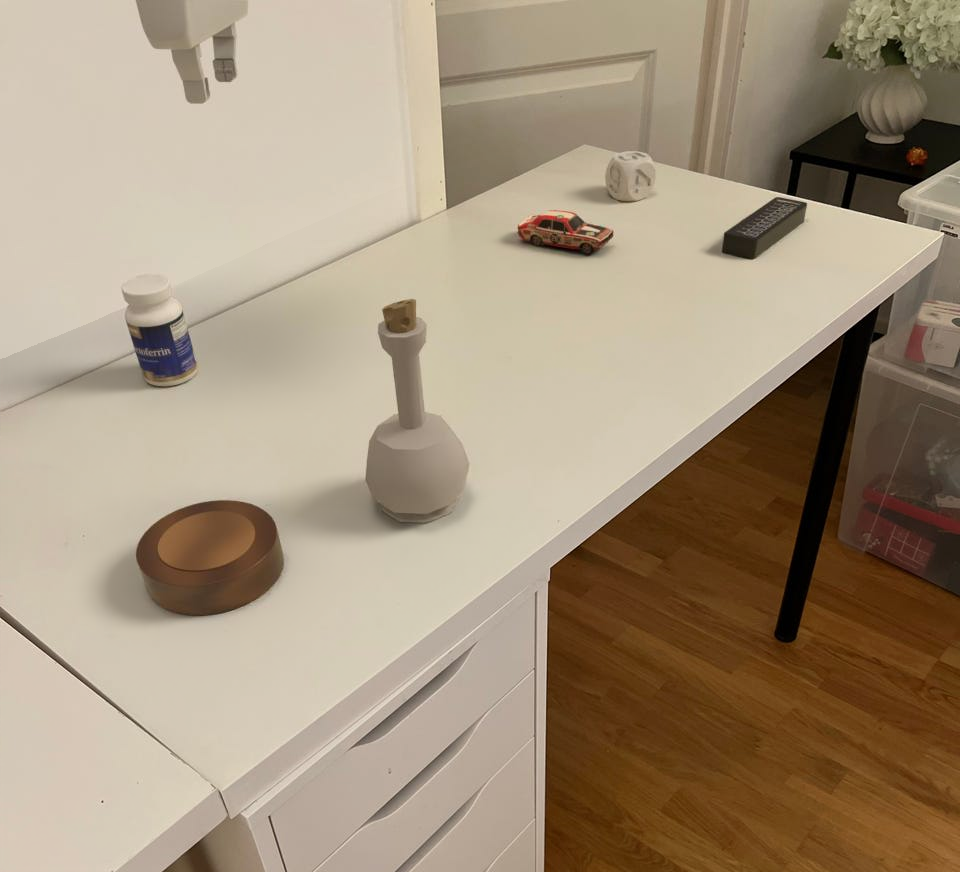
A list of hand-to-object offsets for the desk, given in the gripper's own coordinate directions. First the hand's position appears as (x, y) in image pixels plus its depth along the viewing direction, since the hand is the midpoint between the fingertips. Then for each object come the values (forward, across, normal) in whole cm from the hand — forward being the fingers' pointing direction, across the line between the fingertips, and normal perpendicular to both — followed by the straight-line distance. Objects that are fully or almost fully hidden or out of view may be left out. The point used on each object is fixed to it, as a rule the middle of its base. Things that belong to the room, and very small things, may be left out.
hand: (213, 91), depth 88 cm
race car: (+22, -28, +33) cm, 49 cm away
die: (+21, -45, +42) cm, 65 cm away
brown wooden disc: (+28, +36, +5) cm, 46 cm away
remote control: (+21, -30, +58) cm, 69 cm away
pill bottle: (+26, +4, -8) cm, 28 cm away
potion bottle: (+27, +27, +21) cm, 43 cm away
